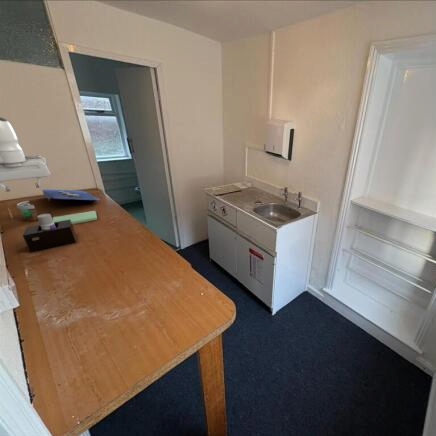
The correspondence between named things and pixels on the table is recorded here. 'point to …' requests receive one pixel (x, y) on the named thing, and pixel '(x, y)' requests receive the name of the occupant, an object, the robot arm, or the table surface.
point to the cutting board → (77, 217)
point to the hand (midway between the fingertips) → (23, 189)
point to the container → (46, 221)
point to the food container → (28, 211)
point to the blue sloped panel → (68, 194)
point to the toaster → (49, 236)
